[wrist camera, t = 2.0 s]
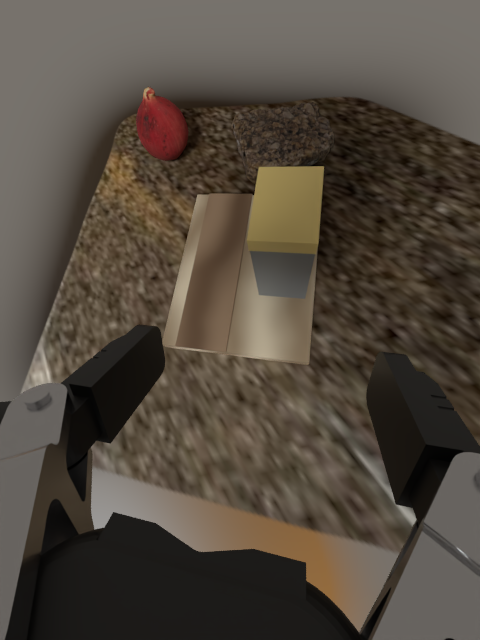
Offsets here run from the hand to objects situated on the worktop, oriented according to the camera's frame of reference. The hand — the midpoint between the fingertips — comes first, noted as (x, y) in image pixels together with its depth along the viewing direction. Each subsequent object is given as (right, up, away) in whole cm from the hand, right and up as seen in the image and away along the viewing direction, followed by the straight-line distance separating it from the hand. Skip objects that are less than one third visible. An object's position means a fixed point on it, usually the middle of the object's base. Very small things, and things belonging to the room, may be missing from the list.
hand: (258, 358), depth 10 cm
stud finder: (+4, +7, +16) cm, 18 cm away
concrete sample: (+5, +21, +22) cm, 31 cm away
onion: (-9, +23, +25) cm, 35 cm away
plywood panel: (0, +7, +18) cm, 19 cm away
